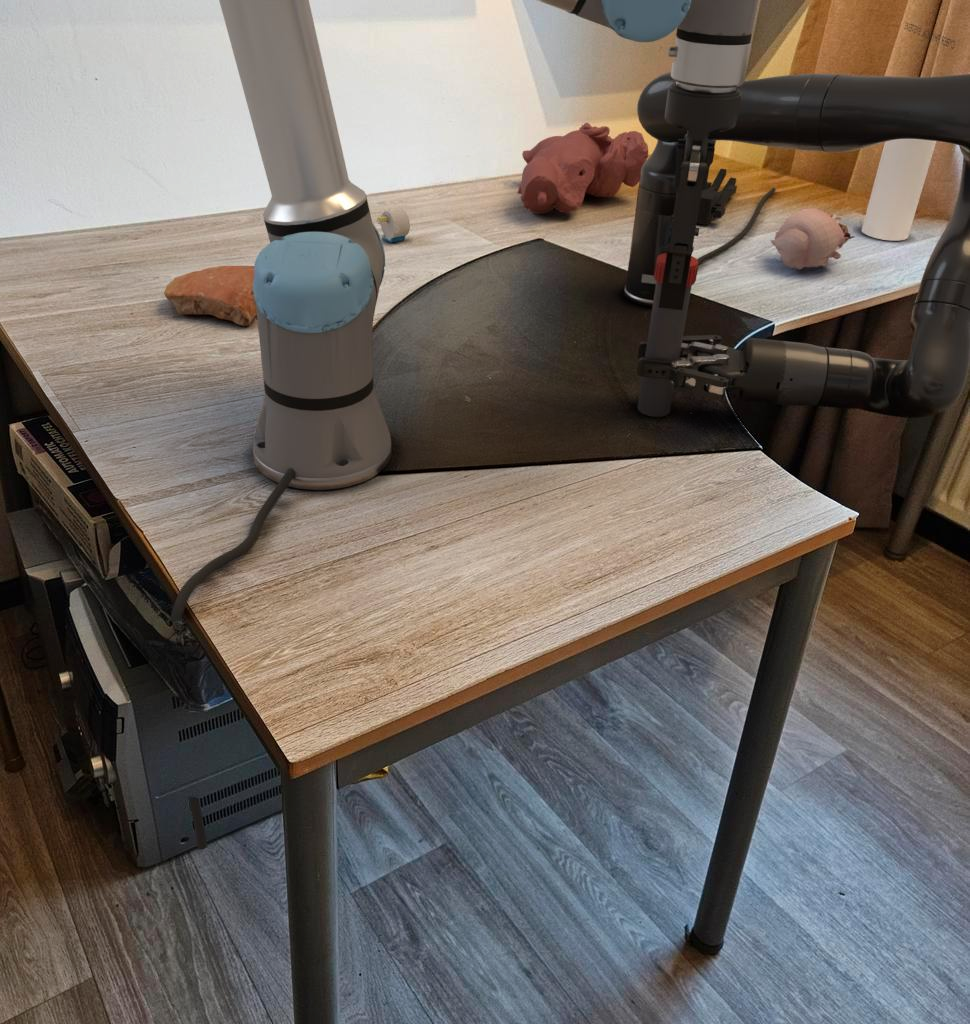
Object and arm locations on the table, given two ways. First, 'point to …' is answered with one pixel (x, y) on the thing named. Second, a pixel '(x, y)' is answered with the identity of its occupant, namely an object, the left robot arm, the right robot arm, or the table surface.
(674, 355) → the bottle
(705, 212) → the black forked piece
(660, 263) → the lid
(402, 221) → the electric motor
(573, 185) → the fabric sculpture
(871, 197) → the tall white tube
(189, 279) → the ceramic shard
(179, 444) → the table surface
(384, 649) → the table surface
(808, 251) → the toy
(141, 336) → the table surface
